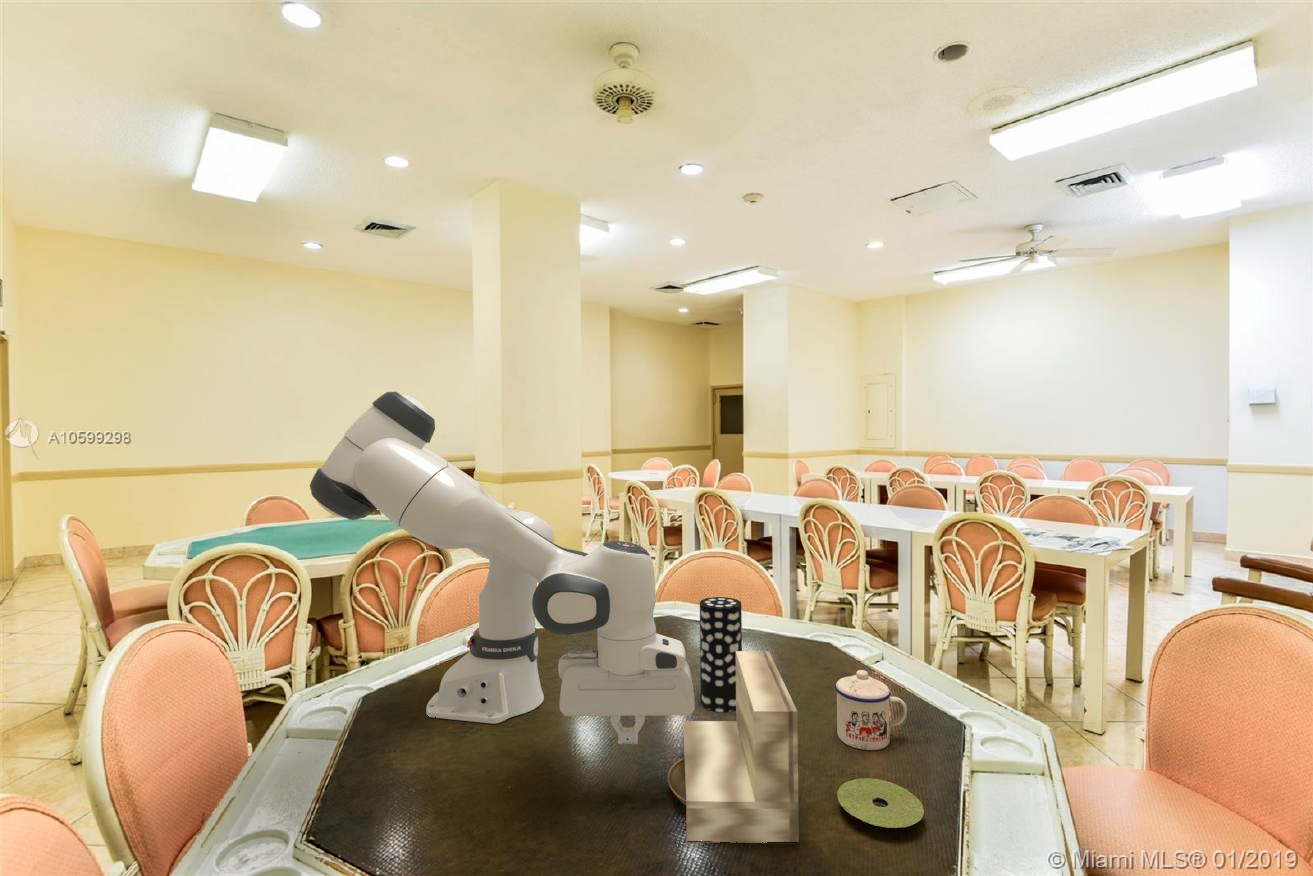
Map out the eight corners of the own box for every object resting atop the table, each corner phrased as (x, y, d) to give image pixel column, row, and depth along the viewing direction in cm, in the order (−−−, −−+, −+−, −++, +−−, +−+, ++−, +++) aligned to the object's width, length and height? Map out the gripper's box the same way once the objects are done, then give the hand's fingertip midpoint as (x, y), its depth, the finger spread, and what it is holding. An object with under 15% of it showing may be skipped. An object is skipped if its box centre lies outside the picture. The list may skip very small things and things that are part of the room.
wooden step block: (686, 842, 76) (685, 711, 76) (683, 752, 98) (682, 651, 98) (798, 843, 76) (797, 711, 76) (770, 753, 98) (769, 651, 98)
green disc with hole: (852, 842, 76) (852, 827, 76) (827, 791, 87) (827, 777, 87) (939, 841, 76) (939, 826, 76) (903, 790, 87) (902, 777, 87)
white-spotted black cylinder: (741, 714, 112) (740, 609, 112) (698, 710, 114) (697, 607, 114) (743, 695, 120) (742, 598, 120) (703, 692, 122) (702, 596, 122)
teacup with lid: (842, 751, 98) (841, 681, 98) (831, 725, 107) (830, 661, 107) (916, 753, 97) (915, 683, 97) (898, 727, 106) (897, 663, 106)
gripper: (554, 658, 85) (555, 754, 85) (695, 657, 85) (696, 752, 85) (561, 643, 91) (562, 732, 91) (692, 642, 91) (693, 731, 91)
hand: (628, 742), depth 88 cm, fingers closed
